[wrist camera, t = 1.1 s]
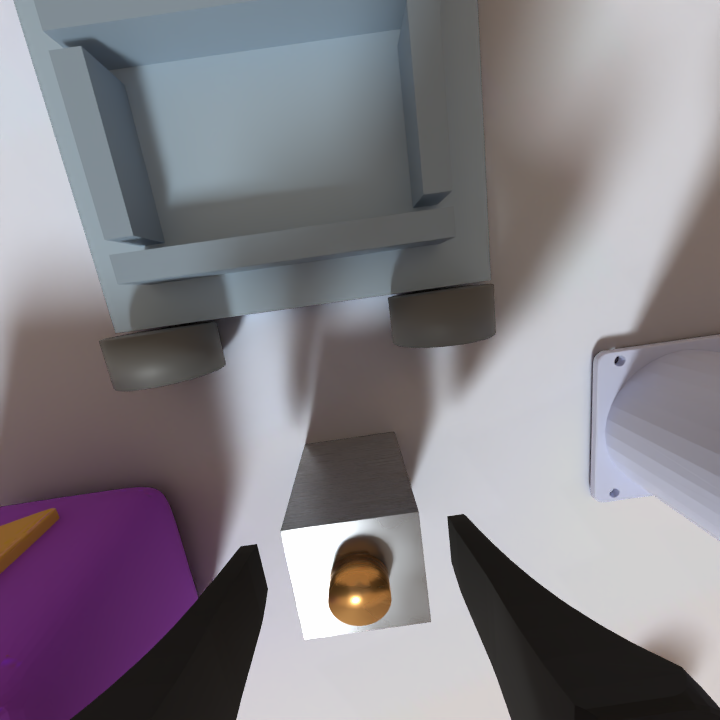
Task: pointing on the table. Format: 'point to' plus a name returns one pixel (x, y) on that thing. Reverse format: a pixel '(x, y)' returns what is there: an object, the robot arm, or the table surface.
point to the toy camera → (84, 596)
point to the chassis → (269, 165)
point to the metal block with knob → (355, 539)
